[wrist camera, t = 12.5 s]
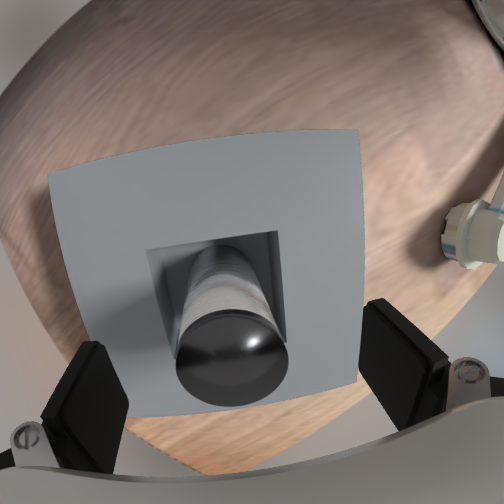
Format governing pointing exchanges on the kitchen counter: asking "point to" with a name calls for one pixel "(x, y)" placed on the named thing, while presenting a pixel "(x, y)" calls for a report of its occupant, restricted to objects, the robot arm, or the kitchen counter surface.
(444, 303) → the kitchen counter surface
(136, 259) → the socket block
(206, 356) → the cylinder
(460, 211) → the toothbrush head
